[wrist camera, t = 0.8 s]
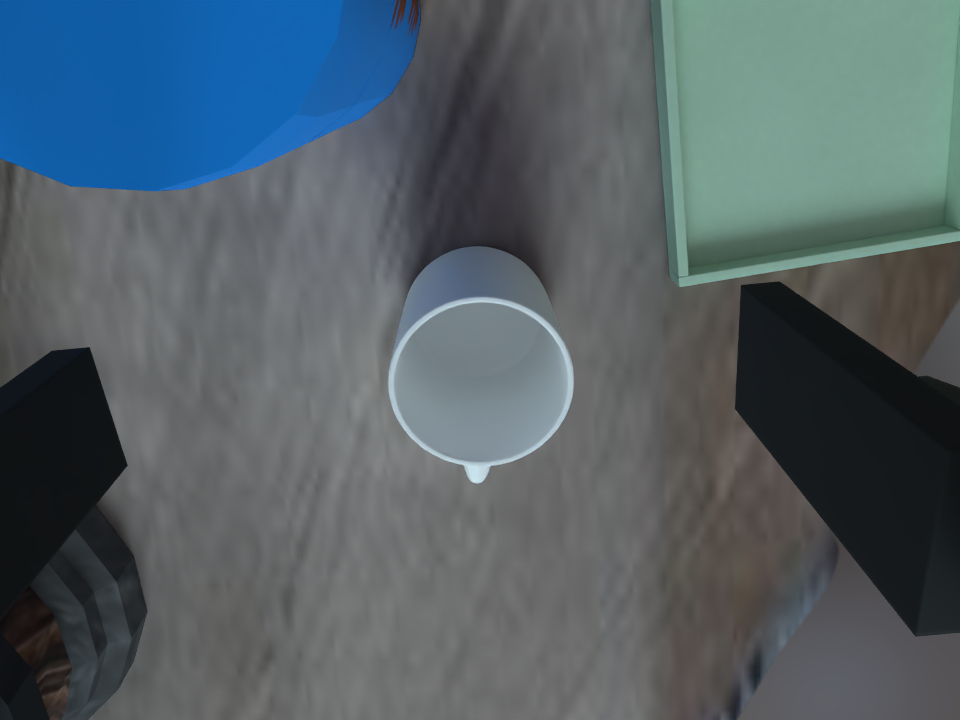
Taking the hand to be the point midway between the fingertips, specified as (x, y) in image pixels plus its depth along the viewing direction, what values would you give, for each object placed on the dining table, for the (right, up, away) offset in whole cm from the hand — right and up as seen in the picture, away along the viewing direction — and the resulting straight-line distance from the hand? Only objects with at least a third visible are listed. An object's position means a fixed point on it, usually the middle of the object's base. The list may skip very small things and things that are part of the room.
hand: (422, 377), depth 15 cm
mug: (+1, +2, +29) cm, 29 cm away
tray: (+19, +14, +25) cm, 34 cm away
